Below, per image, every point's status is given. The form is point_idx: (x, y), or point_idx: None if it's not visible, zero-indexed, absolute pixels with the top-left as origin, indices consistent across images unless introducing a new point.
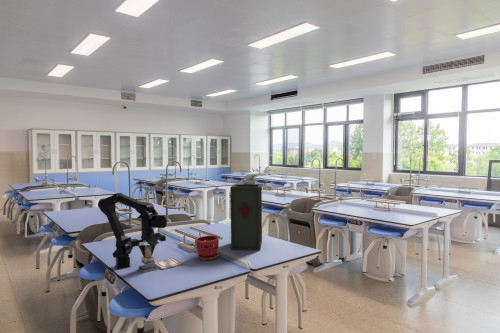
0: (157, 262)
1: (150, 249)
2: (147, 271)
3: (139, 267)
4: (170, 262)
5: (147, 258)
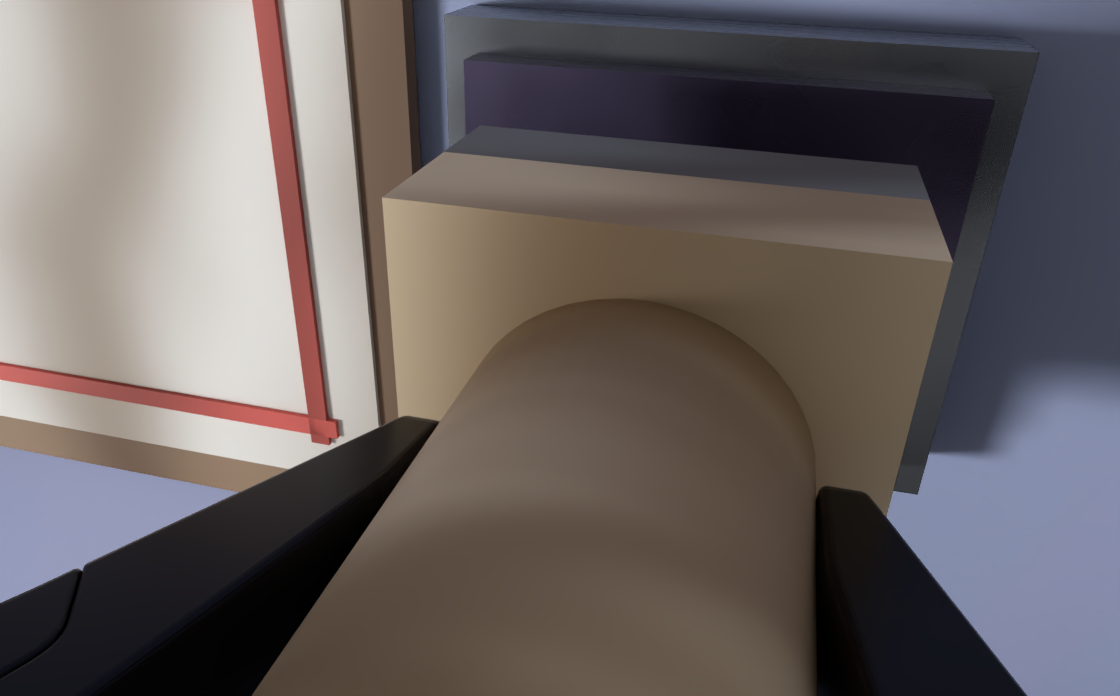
0: (303, 454)
1: (332, 645)
2: (841, 32)
3: (910, 429)
4: (20, 209)
5: (777, 258)
